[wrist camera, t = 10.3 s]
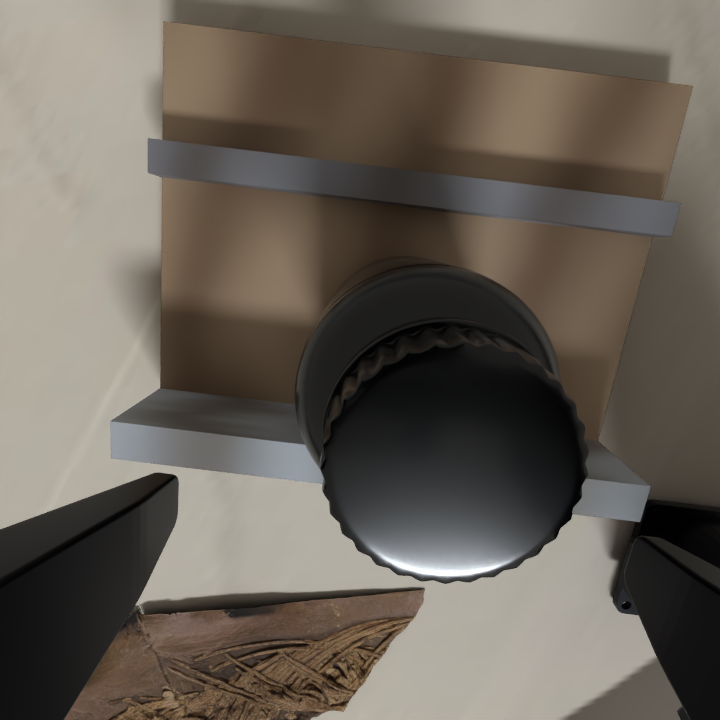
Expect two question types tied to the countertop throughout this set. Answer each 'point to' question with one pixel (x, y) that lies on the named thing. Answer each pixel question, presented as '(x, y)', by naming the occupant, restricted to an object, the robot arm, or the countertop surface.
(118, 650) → the wooden fragment
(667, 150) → the cleat board
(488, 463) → the supplement bottle
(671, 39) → the countertop surface
